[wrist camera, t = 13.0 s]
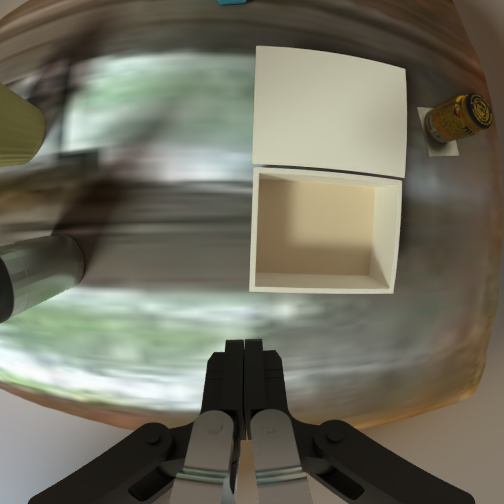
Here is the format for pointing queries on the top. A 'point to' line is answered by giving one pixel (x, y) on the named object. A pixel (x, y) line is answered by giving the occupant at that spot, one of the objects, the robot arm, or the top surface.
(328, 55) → the lid
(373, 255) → the box
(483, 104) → the condiment
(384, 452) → the robot arm
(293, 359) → the top surface
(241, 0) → the data package
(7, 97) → the potted cactus
